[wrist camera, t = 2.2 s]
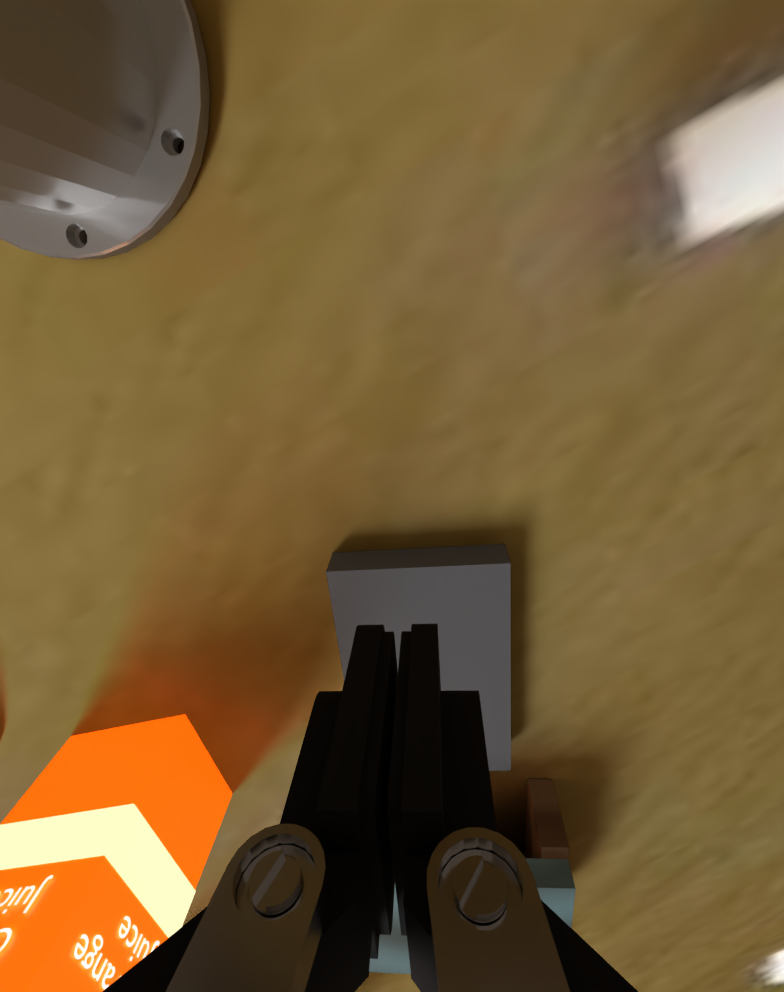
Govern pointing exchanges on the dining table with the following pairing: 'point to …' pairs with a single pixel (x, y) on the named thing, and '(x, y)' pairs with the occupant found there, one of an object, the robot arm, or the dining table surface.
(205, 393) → the dining table surface
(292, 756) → the dining table surface
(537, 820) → the shelf dock
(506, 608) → the slate tile
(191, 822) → the orange juice
